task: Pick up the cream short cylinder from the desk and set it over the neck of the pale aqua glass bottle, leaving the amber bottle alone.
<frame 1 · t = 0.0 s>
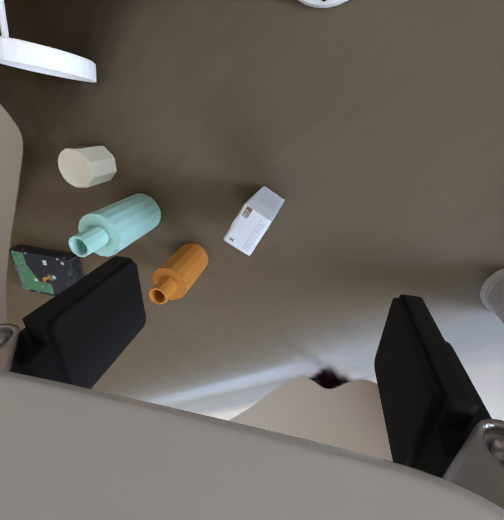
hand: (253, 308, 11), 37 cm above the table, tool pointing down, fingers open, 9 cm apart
cosmetic box: (264, 205, 47), on the table
amber bottle: (193, 257, 54), on the table
disk drive: (55, 269, 64), on the table
cream short cylinder: (100, 163, 50), on the table
bottle: (144, 211, 52), on the table
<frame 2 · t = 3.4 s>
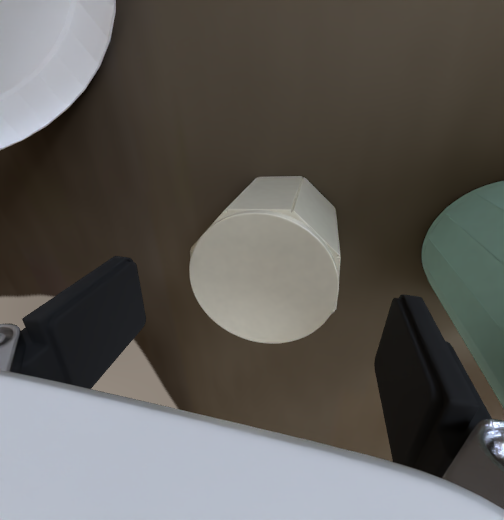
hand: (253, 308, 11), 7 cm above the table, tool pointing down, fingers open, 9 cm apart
cream short cylinder: (280, 229, 16), on the table
bottle: (496, 246, 14), on the table, touching gripper
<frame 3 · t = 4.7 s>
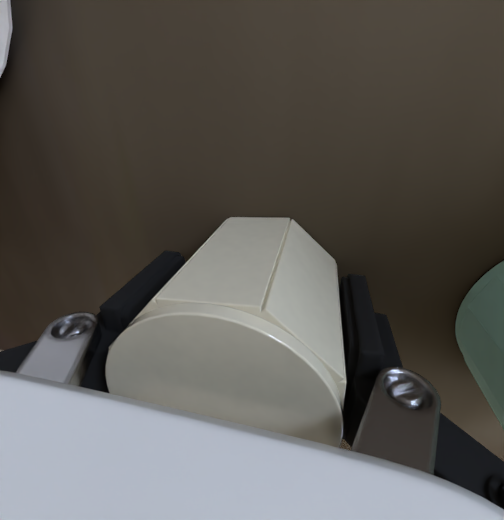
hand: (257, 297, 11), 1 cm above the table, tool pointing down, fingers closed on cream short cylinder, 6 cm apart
cream short cylinder: (262, 284, 12), on the table, touching gripper
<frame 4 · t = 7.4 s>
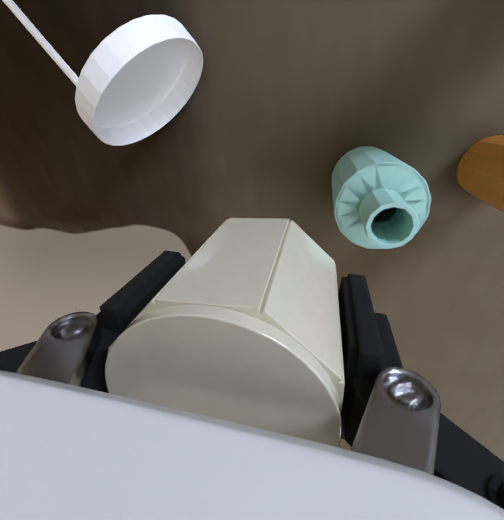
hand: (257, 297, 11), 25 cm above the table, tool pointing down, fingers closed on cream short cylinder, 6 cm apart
amber bottle: (489, 166, 29), on the table
cream short cylinder: (261, 284, 12), point 24 cm above the table, touching gripper
bottle: (362, 178, 32), on the table
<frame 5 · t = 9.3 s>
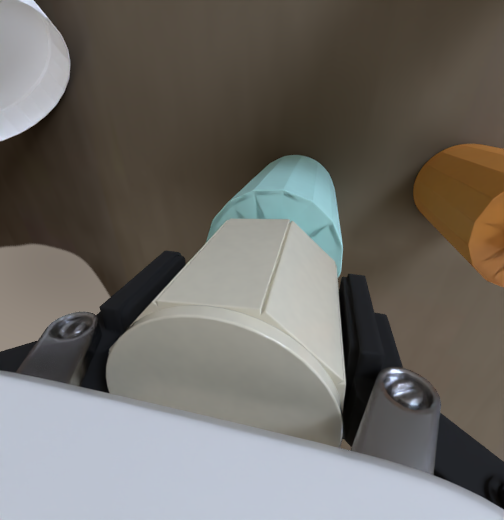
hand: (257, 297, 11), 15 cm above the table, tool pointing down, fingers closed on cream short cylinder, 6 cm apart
amber bottle: (456, 185, 22), on the table
cream short cylinder: (262, 285, 12), point 14 cm above the table, touching gripper
bottle: (293, 195, 24), on the table
when the fingers open (13 cm above the table, at t = 10.6 s): cream short cylinder stays where it is, resting on bottle.
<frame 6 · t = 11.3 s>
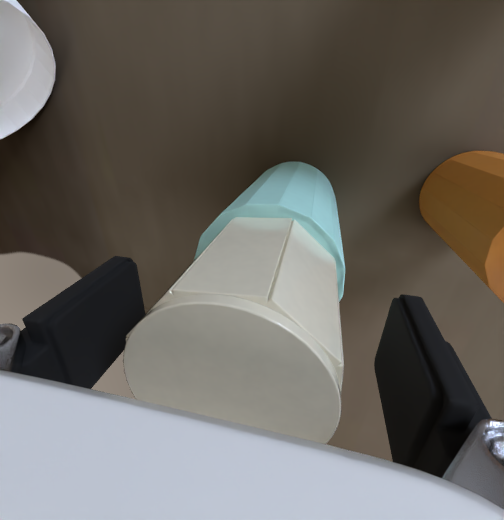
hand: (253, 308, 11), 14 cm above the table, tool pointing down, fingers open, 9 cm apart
amber bottle: (465, 194, 20), on the table
cream short cylinder: (265, 280, 13), point 12 cm above the table, touching bottle
bottle: (292, 204, 23), on the table, touching cream short cylinder
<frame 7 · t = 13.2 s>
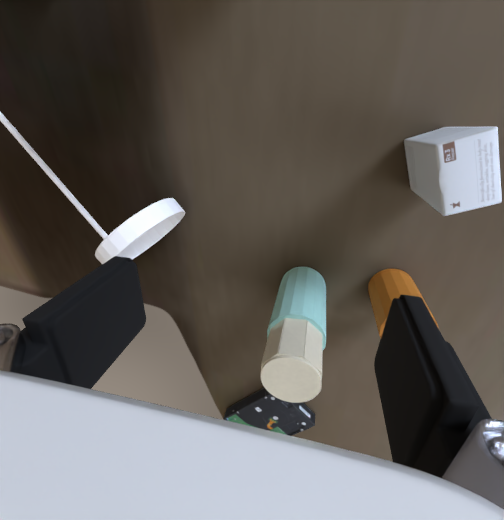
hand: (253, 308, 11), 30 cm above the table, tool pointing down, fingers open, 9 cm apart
desk lamp: (77, 74, 38), on the table
cosmetic box: (424, 158, 33), on the table
amber bottle: (390, 287, 40), on the table
disk drive: (269, 409, 57), on the table
cream short cylinder: (295, 339, 33), point 12 cm above the table, touching bottle
bottle: (303, 286, 43), on the table, touching cream short cylinder
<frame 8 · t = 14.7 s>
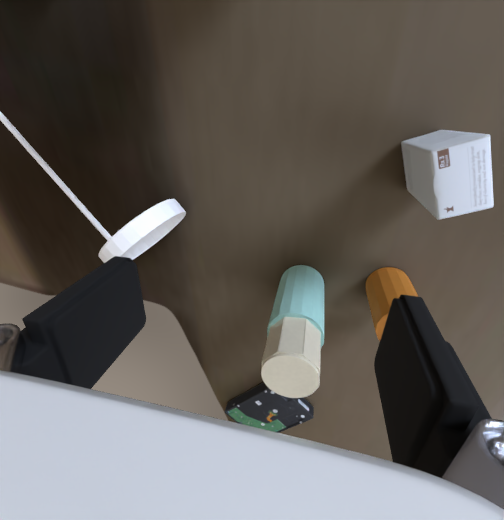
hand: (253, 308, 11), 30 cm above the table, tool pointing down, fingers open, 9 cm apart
desk lamp: (77, 75, 38), on the table
cosmetic box: (420, 160, 34), on the table
amber bottle: (386, 285, 41), on the table
disk drive: (269, 402, 58), on the table
cream short cylinder: (295, 337, 34), point 12 cm above the table, touching bottle
bottle: (301, 284, 44), on the table, touching cream short cylinder
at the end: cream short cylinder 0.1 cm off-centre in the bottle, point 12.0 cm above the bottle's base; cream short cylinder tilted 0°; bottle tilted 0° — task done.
